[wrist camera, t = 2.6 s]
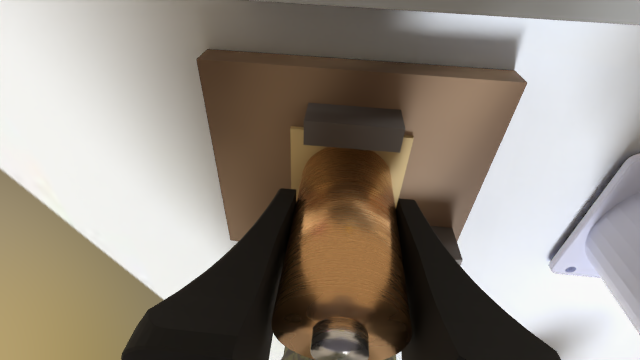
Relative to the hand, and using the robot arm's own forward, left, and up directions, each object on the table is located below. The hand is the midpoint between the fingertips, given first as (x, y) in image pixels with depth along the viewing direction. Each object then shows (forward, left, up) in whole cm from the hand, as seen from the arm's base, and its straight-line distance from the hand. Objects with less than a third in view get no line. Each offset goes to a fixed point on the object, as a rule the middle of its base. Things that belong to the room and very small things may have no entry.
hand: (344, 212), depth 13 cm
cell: (0, 0, -2) cm, 2 cm away
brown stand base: (0, 0, -3) cm, 3 cm away
